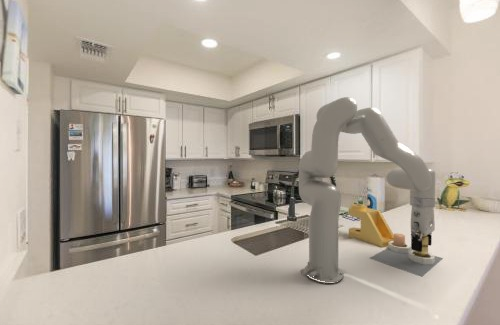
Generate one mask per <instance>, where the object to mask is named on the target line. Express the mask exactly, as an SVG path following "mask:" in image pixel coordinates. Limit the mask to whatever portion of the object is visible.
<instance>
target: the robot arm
mask: <svg viewBox="0 0 500 325" xmlns="http://www.w3.org/2000/svg"><path fill="white" fill-rule="evenodd" d="M341 133H345V134H351V135H355V134H356V135H357V134H361V135H362V136H363V138H364V140H365V141H366V143H367V145H368V146H369V148H370V149H371V151H372V153H373V154H375V155H376V156H377V157H380V158H382V159H385V160H386V161H388V162H392V163H393V164H395V165H396V166H398V167H397V168H393V169H391V170H390V171H388V173H387V174H386V182H387V183H388V184H389V185H390V186H392V187H393V188H396V189H399V190H408V191H409V205H410V206H411V212H410V239H411V241H410V242H411V243H410V246H411V249H412V250H415V251H419V252H422V241H421V238H422V235H423V234H424V235H427V236H428V246H432V233H433V232H434V231H435V230H436V229H435V227H436V226H435V210H434V209H435V208H436V171H435V170H434V169H432V168H428V167H427V164H426V163H425V161H424V160H423V159H422V158H421V156H419V155H418V154H417V153H416V152H414V151H413V150H412V149H411V148H409V147H407V146H406V145H405V144H403V143H401V142H400V141H399V140H398V138H397V137H396V136H395V134H394V132H393V131H392V129H391V127H390V126H389V124H388V122H387V120H386V119H385V117H384V115H383V113H381V111H380V110H379V109H378V108H377V107H364V108H362V109H358V103H357V101H356V100H355V99H353V98H352V97H347V96H346V97H340V98H338V99H336V100H333V101H332V102H329V103H327V104H324V105H322V106H321V107H320V108H319V109H318V110H317V113H316V122H315V124H314V126H313V130H312V135H311V149H310V150H309V151H307V152H305V153H304V154H303V155H302V156H301V158H300V161H299V165H298V195H299V198H300V199H301V200H302V202H303V203H305V204H306V205H308V206H311V210H310V214H309V219H308V258H309V259H308V262H307V265H305V266H304V268H302V269H300V272H299V274H300V275H301V276H303V277H305V276H306V275H309V276H310V277H312V278H314V279H317V280H320V281H325V282H337V281H340V280H341V279H342V280H343V279H344V272H343V270H342V269H341V268H340V267H339V220H340V218H339V216H340V209H341V204H342V194H341V191H340V190H339V188H338V187H337V186H336V185H334V184H333V183H331V182H327V181H323V180H324V179H323V178H325V179H326V178H332V177H333V176H335V174H336V173H337V171H338V167H339V166H338V164H339V163H338V161H339V139H340V134H341ZM418 231H419V232H418ZM418 234H419V236H418ZM313 276H314V277H313ZM342 280H341V281H342ZM341 281H340V282H341Z"/></svg>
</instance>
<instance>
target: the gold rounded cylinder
mask: <svg viewBox="0 0 500 325" xmlns="http://www.w3.org/2000/svg"><path fill="white" fill-rule="evenodd" d="M418 232H419V231H418ZM418 236H419V234H418ZM421 241H422V252H419V251H415V255H416V256H419V257H423V258H428V253H429V245H428V236H427V235H424V234H423V235H422V238H421Z"/></svg>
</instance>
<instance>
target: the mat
mask: <svg viewBox="0 0 500 325" xmlns="http://www.w3.org/2000/svg"><path fill="white" fill-rule="evenodd" d="M411 250H412V249H411ZM434 256H435V263H433V264H432V265H429V264H421V263H417V262H414V261H412V260H411V259H410V258H409V253H398V252H395V251H392V250H390V249H389V248H388V247H387V248H385V249H384V250H382V251H379V252H378V253H376V254H374V255H372V256H370V257H369V259H370V260H373V261H376V262H379V263H382V264H385V265H387V266H389V267H393V268H396V269H399V270H402V271H404V272H407V273H410V274H412V275H415V276H419V277H424V276H425V275H426V274H427V273H428V272H430V271H431V269H433V268H434V267H435V266H436V265H437V264H438V263H440V262H441V261H443V259H444V258H443V257H440V256H436V255H434Z"/></svg>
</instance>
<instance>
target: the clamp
mask: <svg viewBox="0 0 500 325" xmlns="http://www.w3.org/2000/svg"><path fill="white" fill-rule="evenodd" d="M348 216H350V217H353V218H357V219H360V227H350V228H348V238H350V239H354V238H355V239H358V240H361V241H363V242H366V243H369V244H372V245H374V246H377V247H380V248H386V247H387V248H388V243H389V242H391V241H394V233H393V231H392V229H391V228H390V226H389V224H388V223H387V221H386V219H385V218H384V216H383V214H382V212H381V210H377V209H374V208H371V207H367V205H366V204H362V203H351V206H349V207H348Z"/></svg>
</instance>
